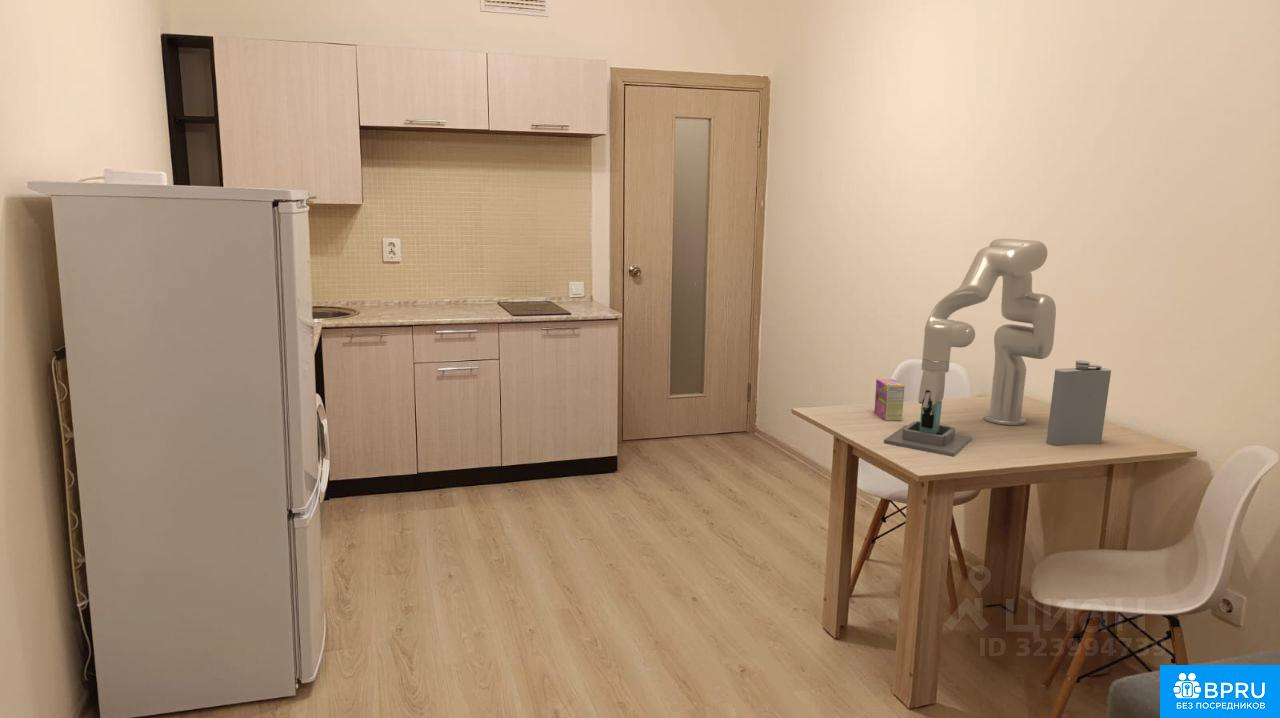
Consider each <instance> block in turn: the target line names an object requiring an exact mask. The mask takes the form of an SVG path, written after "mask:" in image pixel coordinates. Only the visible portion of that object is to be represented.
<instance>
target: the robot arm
mask: <svg viewBox="0 0 1280 718" xmlns="http://www.w3.org/2000/svg"><path fill="white" fill-rule="evenodd" d="M1048 253H1049V252H1048V248H1047V246H1046V245H1045V243H1043V242H1042V241H1039V240H1034V239H1033V240H1032V239H1031V240H1029V239H1019V238H997V239H994V240H992V241H991V242H990V243H989V245H988V246H985V247H982V248H981V249H979V250H978V252H977V253H976V255H975V256H974V259H972V260H973V261H972V262H971V265H970V266H969V269H968V270H967V272H966V274H965V277H964V279H963V280H962V282H961V285H960V286H959V287H958V288H956V289H954V290H953V291H952V292H950V293H948V294H947V295H945V296H944V297H943V298H942V299H940V300H939V301H938V302H937V303H936V305H934V307H933V309H932V310H931V313H930V315H929V316H928V319H927V321H926V322H925V323H926V324H925V326H924V335H923V336H924V337H923V338H924V340H923V346H922V347H923V348H922V356H921V357H922V359H921V360H922V361H921V370H922V374H921V380H920V383H919V384H920V386H919V391H918V398H917V399H918V400H917V402H918V403H919V404H921V405H922V402H923V401H924V403H923V412H922V424H921V426H922V427H925V428H933V420H934V415H933V410H934V405H936V404H938V403H939V402H940V401H943V399H944V395H945V387H946V373H949V369H950V360H951V359H950V358H951V350H952V348H966V347H968V346H970V345H971V344H972V343H973V342H974V340H975V338H976V330H975V329H974V327H973V325H971V324H970V323H968V322H964V321H959V320H954V319H948V318H949V317H950V316H952V314H953V313H955V312H956V311H959V310H961V309H964V308H968V307H971V306H975V305H977V304H981V303H983V302H985V301H987V300H988V298H989V297H990V295H991V293H992V291H993V288H994V286H995V284H996V282H997V280H998V278H999V277H1001V278H1002V287H1001V288H1002V289H1001V292H1002V293H1001V303H1000V304H1001V305H1000V307H1001V308H1000V309H1001V310H1000V311H1001V315H1002V318H1004V319H1005V320H1007V321H1010V322H1011V321H1012V322H1018V323H1025V324H1031V325H1032V327H1031V326H1026V325H1019V324H1011V323H1009V324H1003V325H1001V326H998V328H997V329H996V331H995V332H994V336H993V344H994V346H993V347H994V367H993V368H994V369H993V377H992V385H991V394H990V395H991V396H990V403H989V404H990V405H989V412H986V413H984V414H983V419H984V420H985V421H987V422H989V423H994V424H996V425H997V424H998V425H1002V426H1003V425H1004V426H1005V425H1006V426H1022V425H1025V424H1026V420H1027V419H1026V418H1025V417H1024V416H1022V411H1023V402H1024V392H1025V383H1026V375H1027V365H1026V363H1025V361H1024V358H1029V359H1030V358H1031V359H1036V360H1045V359H1046V358H1048V357H1049V356H1050V355H1051V353H1052V351H1053V347H1054V343H1055V342H1054V341H1055V340H1054V339H1055V332H1056V331H1055V330H1056V329H1055V328H1056V319H1057V318H1056V317H1057V316H1056V315H1057V308H1056V303H1055V301H1054V299H1053V297H1051V296H1050V295H1047V294H1044V293H1036V292H1033V274H1032V272H1034V271H1037V270H1038V269H1040V268H1042V267H1043V265H1044V264H1045V262H1046V261H1047V257H1048ZM929 402H932V403H931V404H929ZM929 406H931V409H930V407H929Z"/></svg>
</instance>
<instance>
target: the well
mask: <svg viewBox="0 0 1280 718" xmlns="http://www.w3.org/2000/svg"><path fill="white" fill-rule="evenodd" d="M919 428H920V420H919V421H918V420H915V421H912V422H910V423H909V424H906V425H903V426H902V427H901V428H899V429H897V430H896V431H894V432H893V433H892V434H889V436H888V437H886V438H884V440H883V444H886V445H892V446H897V447H903V448H908V449H914V450H918V451H924V452H929V453H933V454H938V455H943V454H944V455H945V456H948V455H949V456H950V457H955V456H956V455H957V454H958V453H960V452H961V450H962V449H964V448H965V447H966V446H967V445H968V444H969V443H970V442H972V440H973V436H969V435H963V434H957V433H956V428H955V427H954V426H948V425H943V424H940V426H939V431H938V432H937V433H936V434H931V433H925V432H919ZM965 445H966V446H965ZM964 446H965V447H964Z"/></svg>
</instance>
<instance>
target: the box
mask: <svg viewBox="0 0 1280 718" xmlns="http://www.w3.org/2000/svg"><path fill="white" fill-rule="evenodd" d="M874 397H875V398H874V412H875V413H874V414H876V415H878V417H880V418H881V419H883V420H884V421H885V422H887V421H888V422H889V421H890V422H891V421H893V422H894V421H895V422H896V421H903V411H904V398H905V385H904V384H903V383H900V382H899V381H897V380H895V379H894V378H876V381H875V395H874Z"/></svg>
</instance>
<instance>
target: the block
mask: <svg viewBox="0 0 1280 718" xmlns="http://www.w3.org/2000/svg"><path fill="white" fill-rule="evenodd" d="M942 401H943V400H942ZM942 401H940V402H939V403H938V404H936V405H934V410H933V415H934V420H933V428H925V427H922V426H921V424H922V412H923V403H924V401H923V402H922V403H921V407H920V410H921V411H920V418H919V421H920V428H919V432H925V433H931V434H936V433H937V432H938V431H939V426H940V425H941V423H940V422H941V416H942V415H941V413H942V405H943V404H942V403H943V402H942ZM931 403H932V402H929V404H931ZM929 407H930V409H931V406H929Z"/></svg>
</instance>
